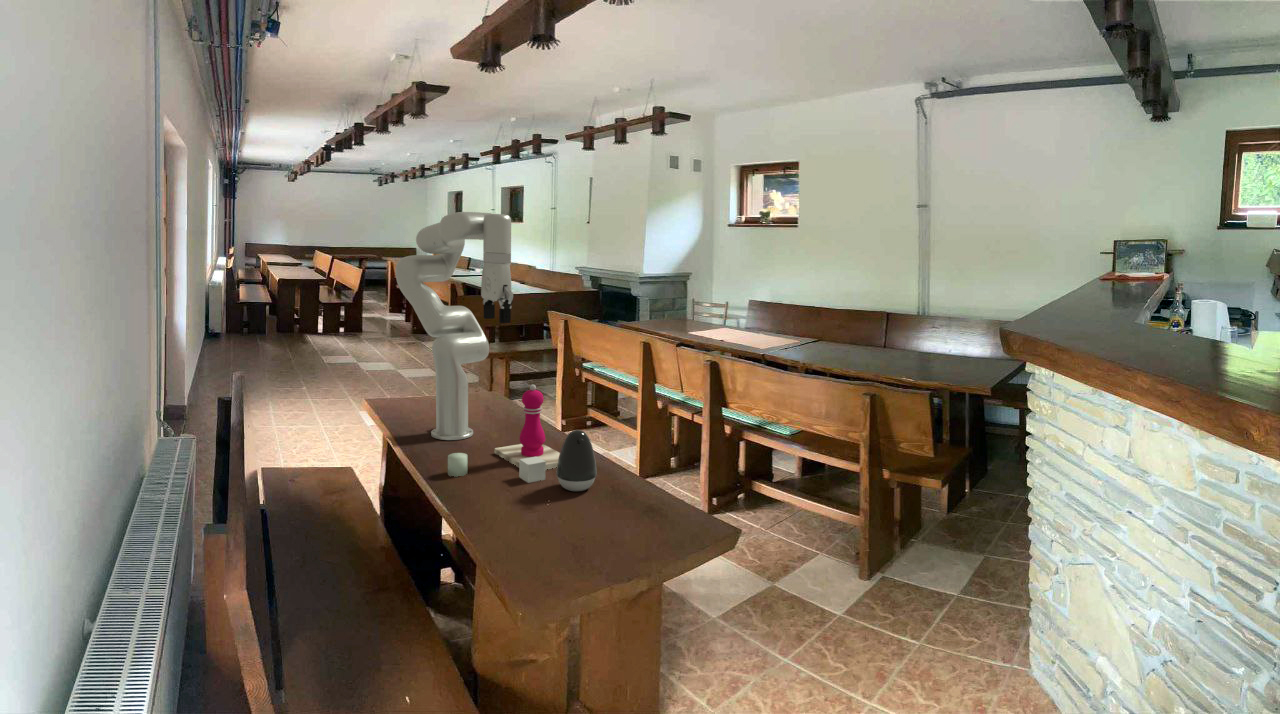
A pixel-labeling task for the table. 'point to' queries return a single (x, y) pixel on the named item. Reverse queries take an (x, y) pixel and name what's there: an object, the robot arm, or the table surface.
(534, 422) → the pepper mill
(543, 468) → the grey block
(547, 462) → the ash board
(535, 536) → the table surface
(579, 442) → the dark grey egg shape
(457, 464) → the sage cylinder
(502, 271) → the robot arm
